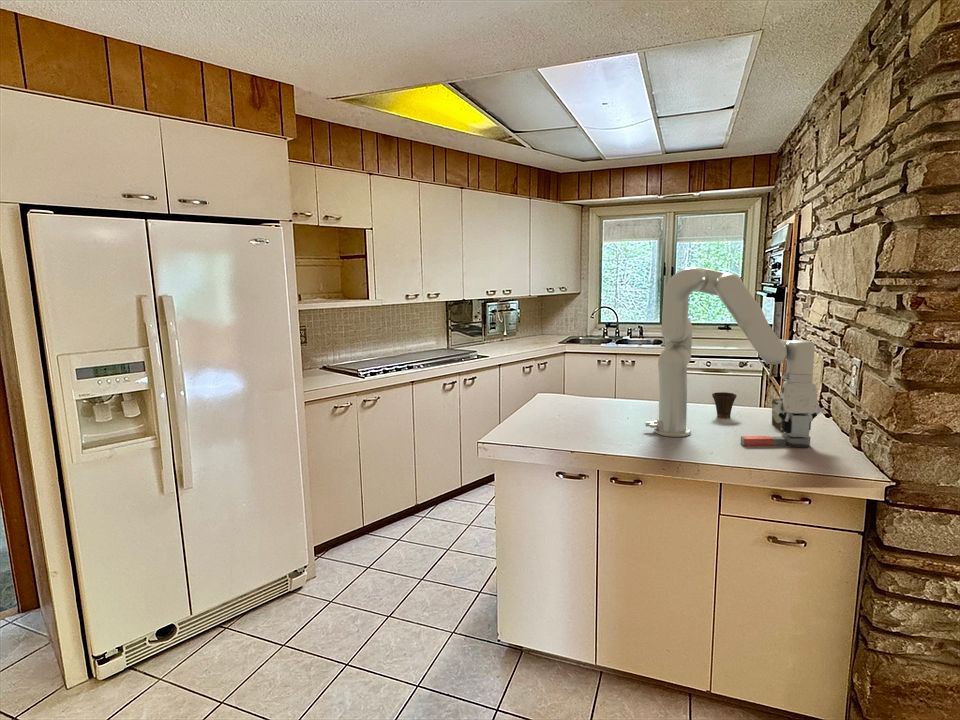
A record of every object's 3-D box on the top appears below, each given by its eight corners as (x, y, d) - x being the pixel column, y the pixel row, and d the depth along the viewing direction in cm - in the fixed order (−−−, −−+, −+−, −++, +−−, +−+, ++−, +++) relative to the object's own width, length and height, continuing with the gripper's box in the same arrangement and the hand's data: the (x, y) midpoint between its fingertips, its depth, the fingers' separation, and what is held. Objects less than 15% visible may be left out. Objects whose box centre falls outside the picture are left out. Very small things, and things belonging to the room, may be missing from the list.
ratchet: (746, 448, 175) (747, 430, 174) (737, 441, 183) (738, 423, 182) (814, 448, 173) (816, 429, 172) (802, 441, 180) (803, 423, 180)
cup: (728, 420, 206) (726, 394, 206) (708, 418, 214) (707, 393, 214) (743, 417, 210) (741, 392, 210) (723, 416, 218) (721, 391, 218)
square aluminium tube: (791, 436, 174) (792, 416, 173) (783, 432, 179) (784, 411, 178) (808, 436, 174) (810, 415, 172) (800, 432, 179) (801, 411, 178)
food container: (800, 433, 188) (802, 406, 187) (781, 433, 190) (783, 405, 188) (788, 424, 200) (789, 398, 199) (770, 424, 202) (771, 398, 200)
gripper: (776, 380, 171) (773, 435, 174) (833, 380, 169) (829, 435, 172) (766, 376, 178) (764, 429, 181) (821, 375, 176) (817, 429, 179)
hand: (796, 431), depth 176 cm, fingers closed on square aluminium tube, 5 cm apart
